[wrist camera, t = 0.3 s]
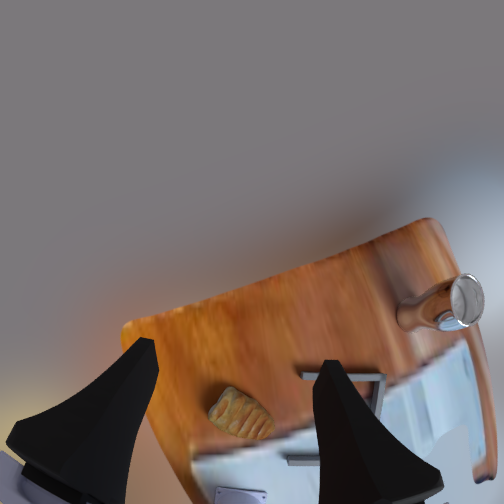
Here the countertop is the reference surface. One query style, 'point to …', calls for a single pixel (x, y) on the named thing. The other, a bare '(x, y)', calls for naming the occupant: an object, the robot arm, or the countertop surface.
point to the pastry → (241, 416)
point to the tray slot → (375, 407)
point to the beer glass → (443, 306)
